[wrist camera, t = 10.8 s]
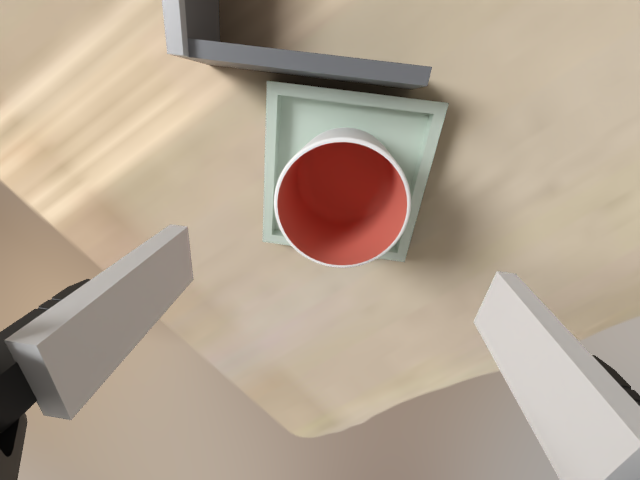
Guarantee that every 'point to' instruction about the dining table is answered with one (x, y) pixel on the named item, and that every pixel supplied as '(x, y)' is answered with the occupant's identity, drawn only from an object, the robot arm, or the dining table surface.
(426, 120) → the tray
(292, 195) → the cup
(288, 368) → the dining table surface
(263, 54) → the bay
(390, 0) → the dining table surface
